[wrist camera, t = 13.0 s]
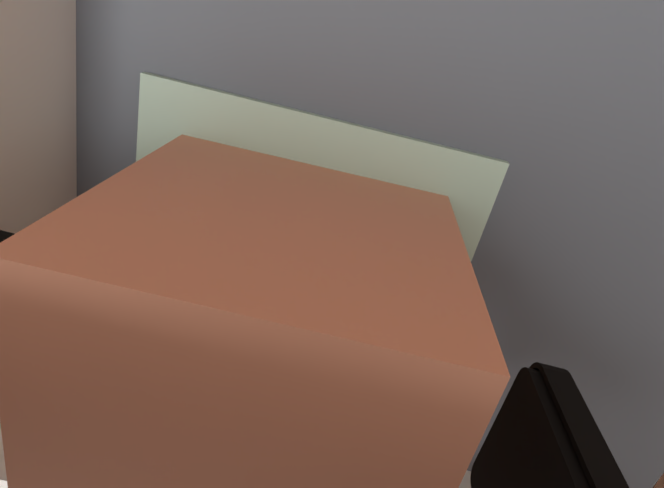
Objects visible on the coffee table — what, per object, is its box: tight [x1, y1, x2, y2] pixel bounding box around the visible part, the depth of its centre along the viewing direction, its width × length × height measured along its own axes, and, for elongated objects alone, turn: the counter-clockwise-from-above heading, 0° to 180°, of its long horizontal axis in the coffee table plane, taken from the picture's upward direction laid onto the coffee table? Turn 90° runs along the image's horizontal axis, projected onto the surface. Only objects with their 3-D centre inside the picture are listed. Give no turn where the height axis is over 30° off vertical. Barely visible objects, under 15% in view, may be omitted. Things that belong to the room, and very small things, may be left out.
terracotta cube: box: [0, 135, 510, 488], centre depth 9 cm, size 6×6×6 cm
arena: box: [0, 0, 664, 488], centre depth 10 cm, size 18×16×4 cm
